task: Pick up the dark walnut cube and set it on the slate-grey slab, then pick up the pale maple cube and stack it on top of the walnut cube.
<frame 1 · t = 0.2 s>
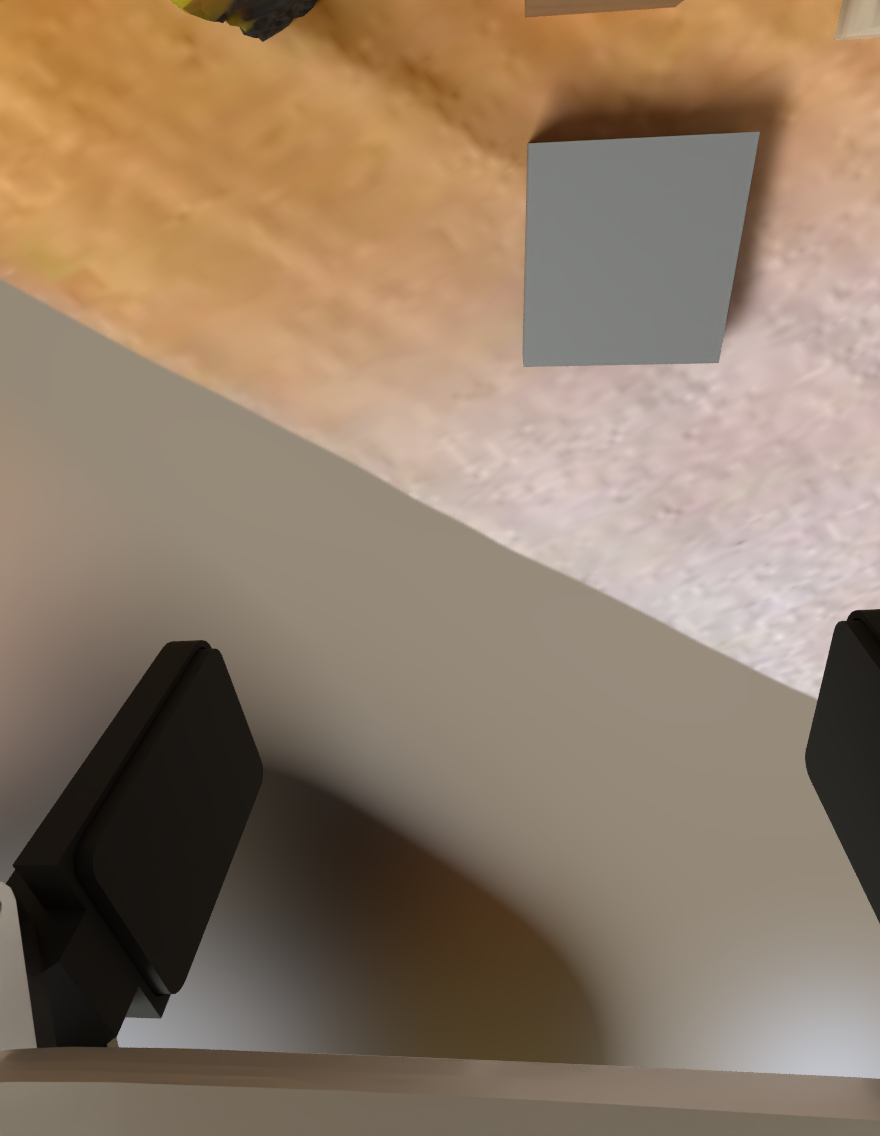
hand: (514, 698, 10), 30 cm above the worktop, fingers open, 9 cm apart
slate slab: (622, 253, 34), on the worktop
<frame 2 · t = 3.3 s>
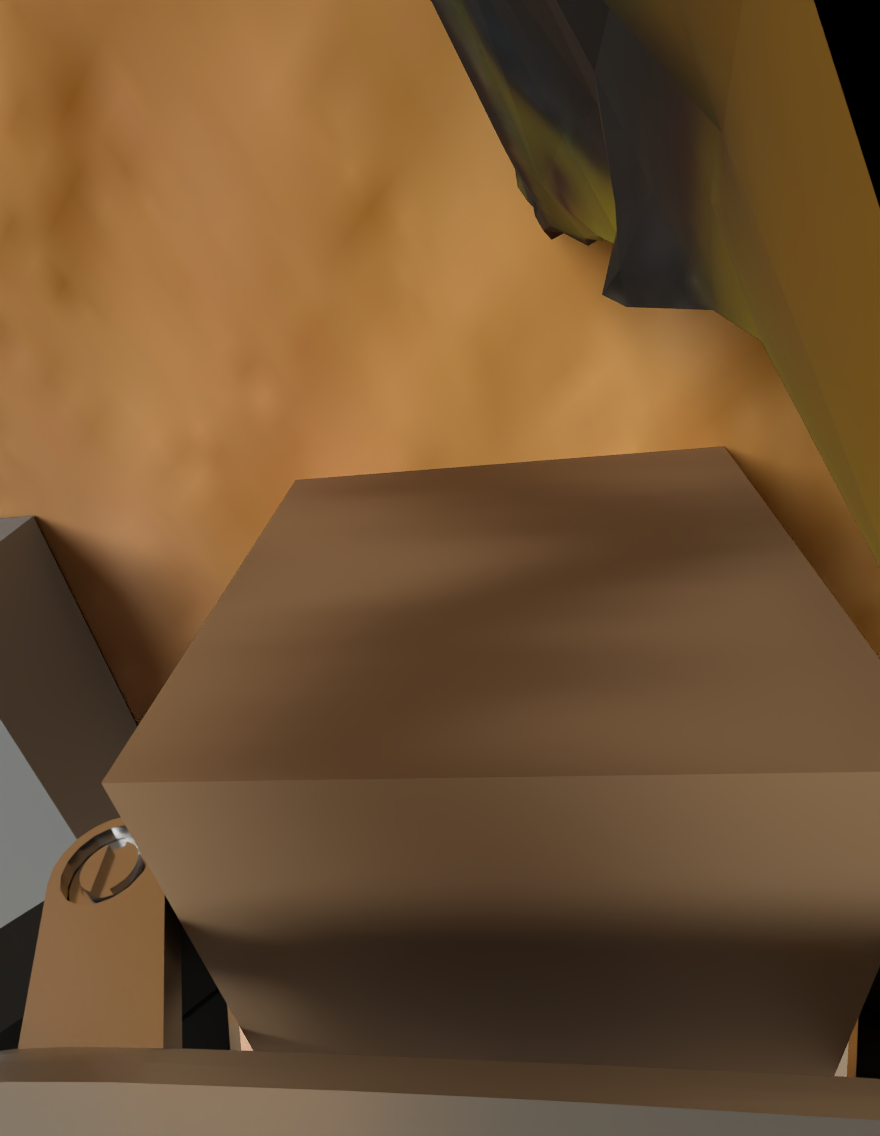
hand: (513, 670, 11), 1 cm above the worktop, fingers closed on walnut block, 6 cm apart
walnut block: (513, 633, 12), on the worktop, touching gripper
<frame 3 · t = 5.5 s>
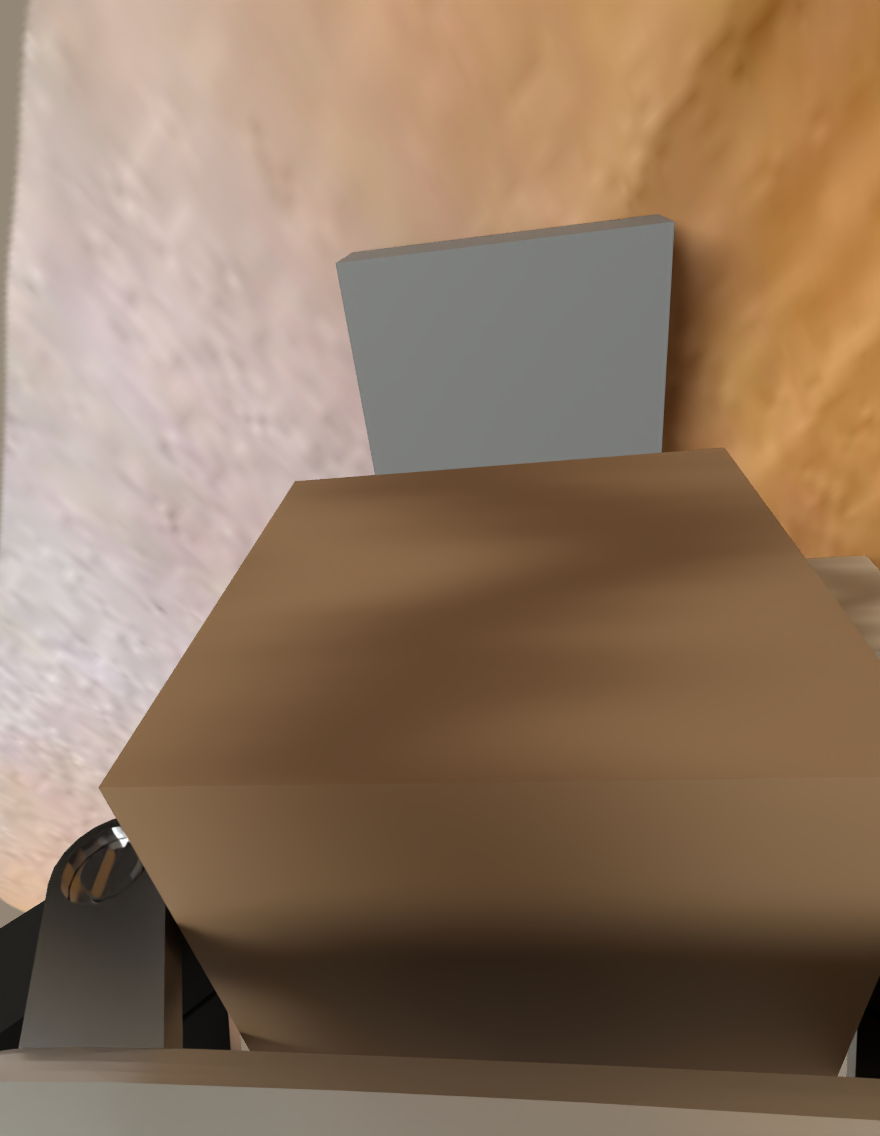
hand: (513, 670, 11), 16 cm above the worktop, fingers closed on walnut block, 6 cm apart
maple block: (783, 612, 29), on the worktop
slate slab: (510, 385, 24), on the worktop
walnut block: (513, 635, 12), point 15 cm above the worktop, touching gripper
when the fingers open (4 cm above the worktop, at t = 8.1 s): walnut block stays where it is, resting on slate slab.
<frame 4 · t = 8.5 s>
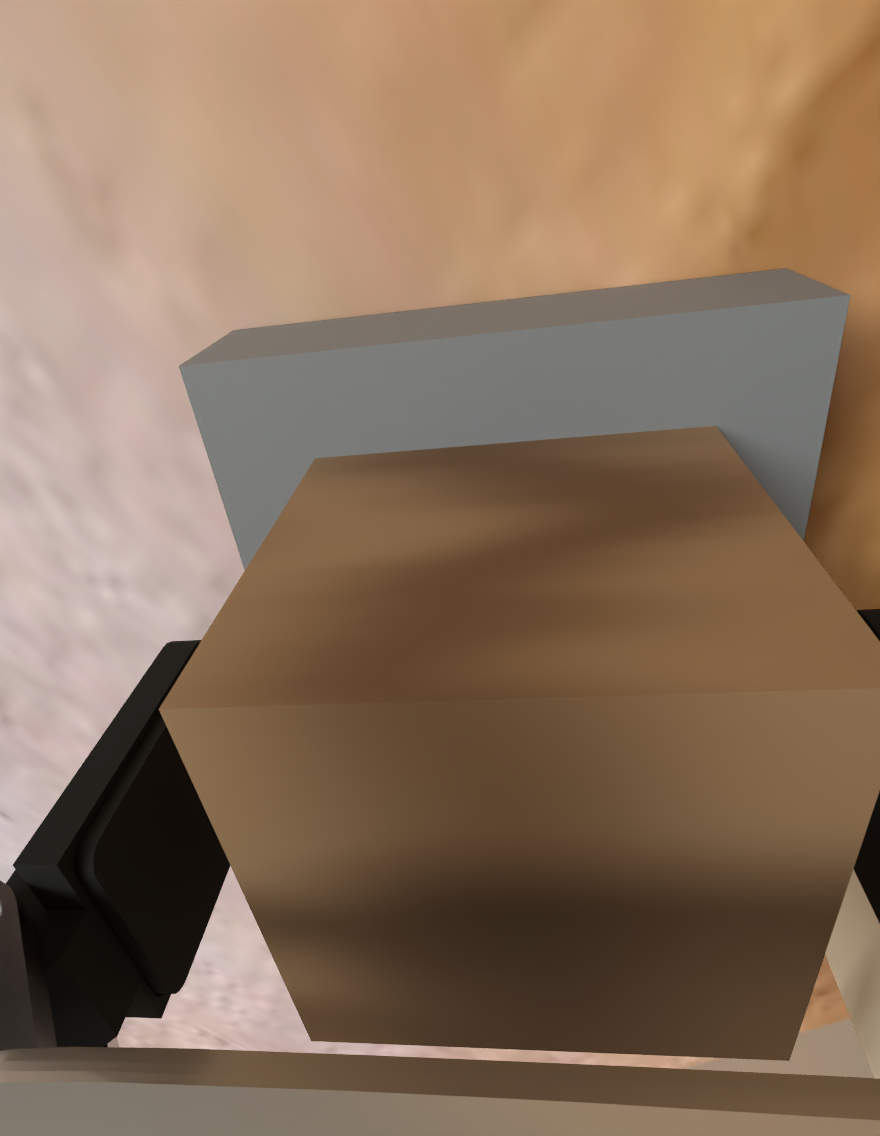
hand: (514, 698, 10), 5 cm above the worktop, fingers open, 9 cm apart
slate slab: (512, 540, 15), on the worktop
walnut block: (518, 605, 13), point 2 cm above the worktop, touching slate slab
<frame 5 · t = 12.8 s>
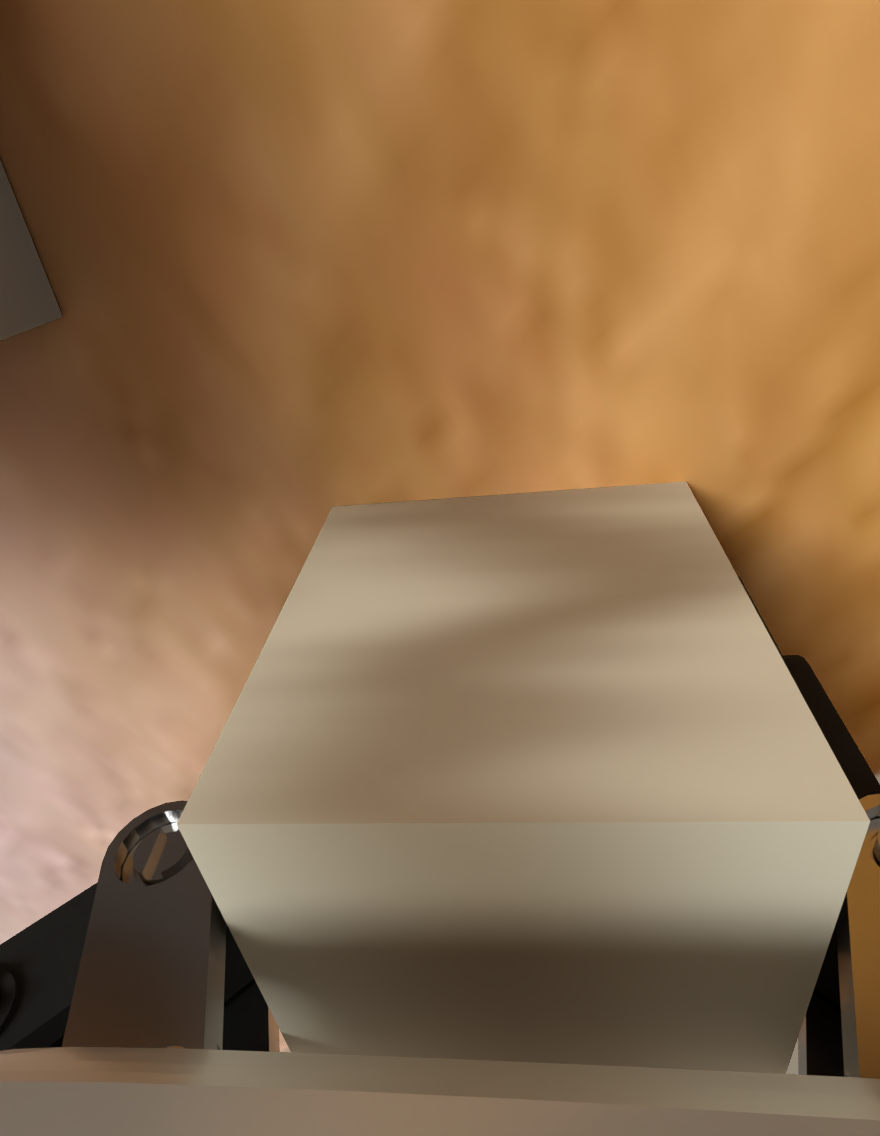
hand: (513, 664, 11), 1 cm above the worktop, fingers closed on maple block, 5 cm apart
maple block: (513, 634, 12), on the worktop, touching gripper
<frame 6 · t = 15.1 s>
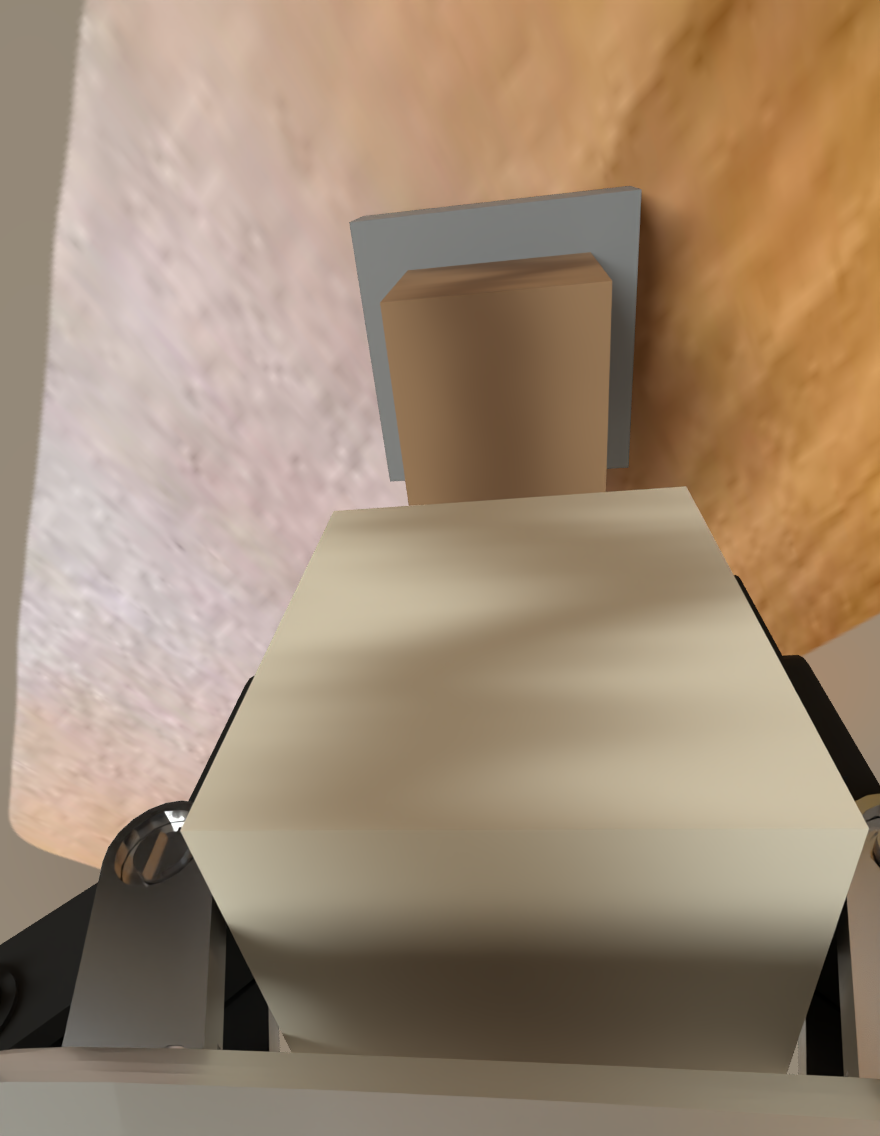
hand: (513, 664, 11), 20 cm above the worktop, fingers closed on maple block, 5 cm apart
maple block: (514, 638, 12), point 19 cm above the worktop, touching gripper
slate slab: (500, 338, 27), on the worktop
walnut block: (502, 353, 25), point 2 cm above the worktop, touching slate slab
when the fingers open (10 cm above the worktop, at t = 17.3 s): maple block stays where it is, resting on walnut block.
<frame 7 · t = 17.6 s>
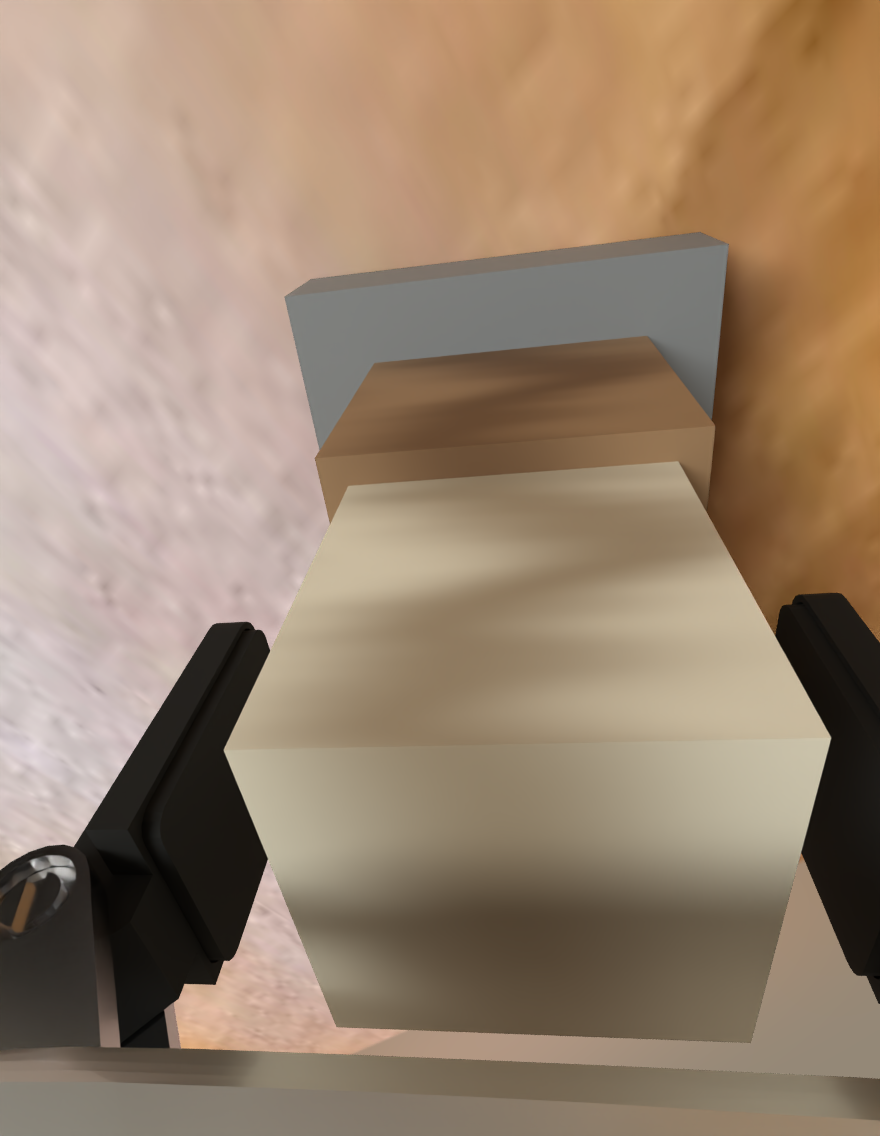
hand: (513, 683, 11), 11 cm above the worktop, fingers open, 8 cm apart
maple block: (517, 607, 13), point 8 cm above the worktop, touching walnut block
slate slab: (510, 440, 20), on the worktop
walnut block: (515, 474, 18), point 2 cm above the worktop, touching maple block, slate slab
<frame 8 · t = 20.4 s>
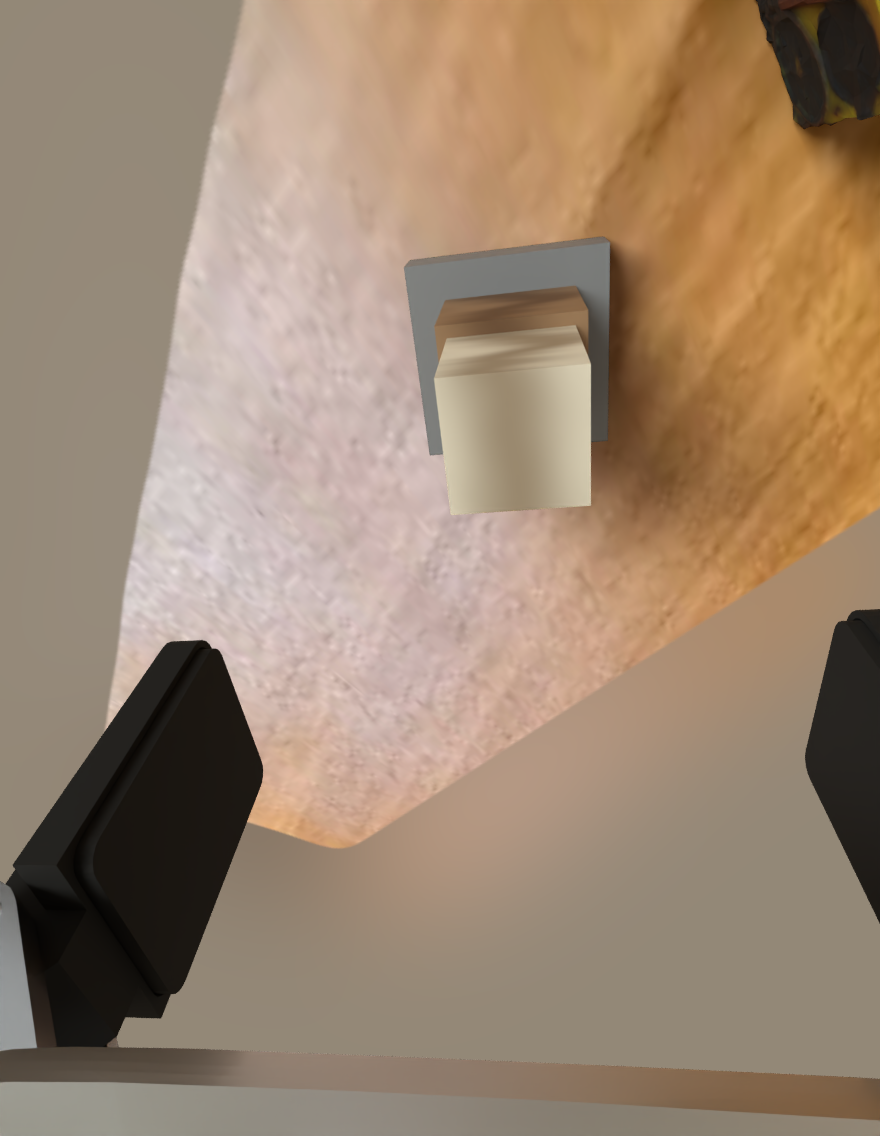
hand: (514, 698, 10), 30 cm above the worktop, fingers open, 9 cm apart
maple block: (514, 394, 30), point 8 cm above the worktop, touching walnut block
slate slab: (511, 346, 37), on the worktop
walnut block: (513, 358, 35), point 2 cm above the worktop, touching maple block, slate slab
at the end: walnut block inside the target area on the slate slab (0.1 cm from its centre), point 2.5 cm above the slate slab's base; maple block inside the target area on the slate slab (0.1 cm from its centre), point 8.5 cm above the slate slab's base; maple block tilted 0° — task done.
